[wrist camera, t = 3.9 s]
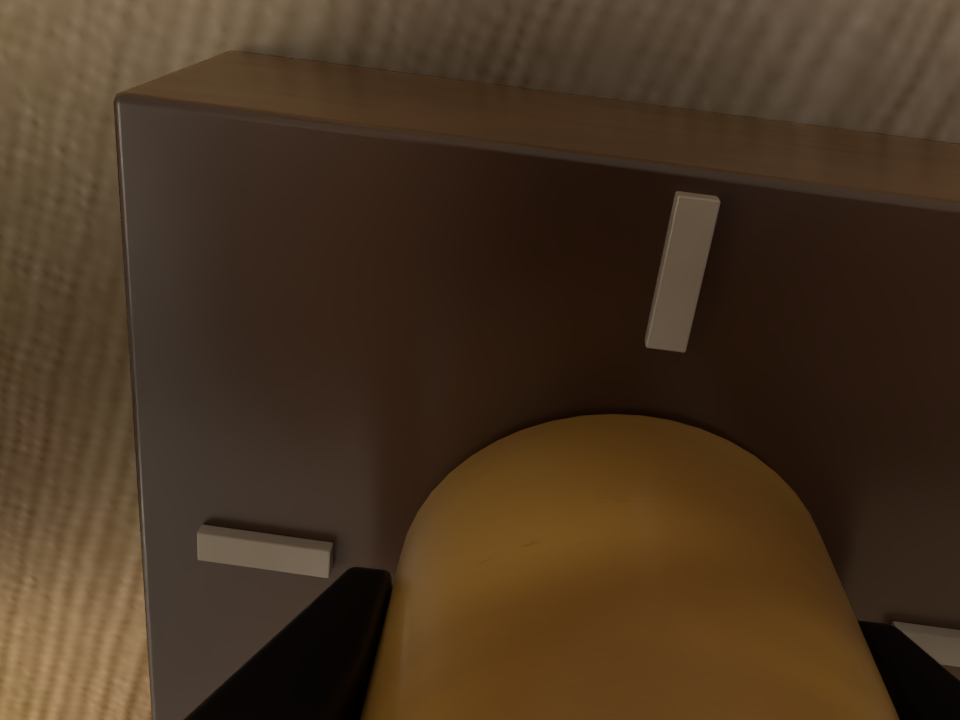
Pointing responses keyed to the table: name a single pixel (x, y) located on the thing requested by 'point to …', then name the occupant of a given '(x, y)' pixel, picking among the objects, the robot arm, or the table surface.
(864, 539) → the brown flat block
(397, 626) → the lock knob
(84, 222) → the table surface
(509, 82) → the table surface
